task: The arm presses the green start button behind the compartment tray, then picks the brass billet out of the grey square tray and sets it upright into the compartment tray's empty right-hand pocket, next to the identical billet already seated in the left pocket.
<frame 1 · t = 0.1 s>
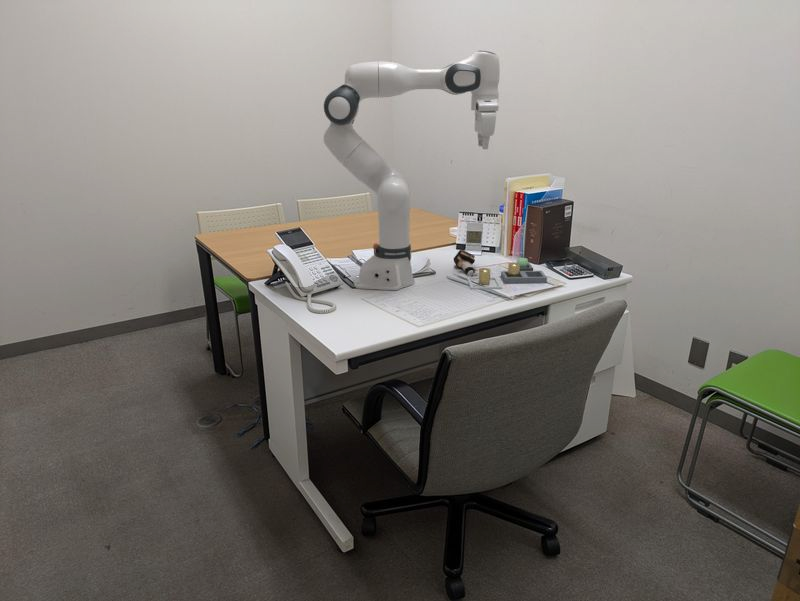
hand: (483, 147, 186), 48 cm above the table, fingers open, 8 cm apart
start button: (521, 264, 207), point 5 cm above the table, slide at 0.0 cm
button housing: (521, 275, 208), on the table
figurine: (465, 274, 212), on the table
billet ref: (513, 279, 200), point 1 cm above the table, touching compartment tray
grey square tray: (484, 286, 197), on the table
billet: (484, 285, 197), resting on grey square tray
compartment tray: (523, 282, 201), on the table
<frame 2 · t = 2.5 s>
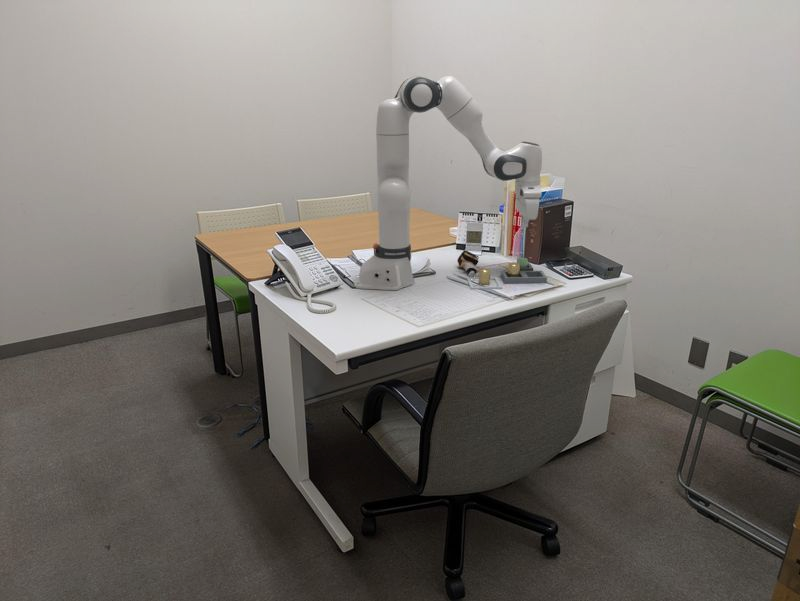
hand: (524, 226, 201), 19 cm above the table, fingers closed
figurine: (468, 274, 211), on the table
everything else where it was.
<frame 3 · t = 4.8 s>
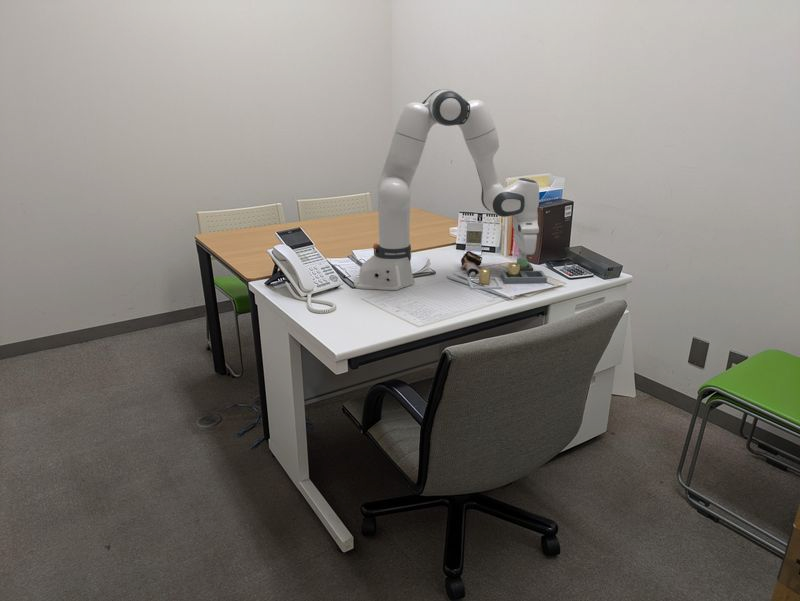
hand: (522, 259, 206), 6 cm above the table, fingers closed, pressing on start button
start button: (521, 264, 207), point 4 cm above the table, slide at 0.1 cm, touching gripper
figurine: (470, 275, 210), on the table
everything else where it was.
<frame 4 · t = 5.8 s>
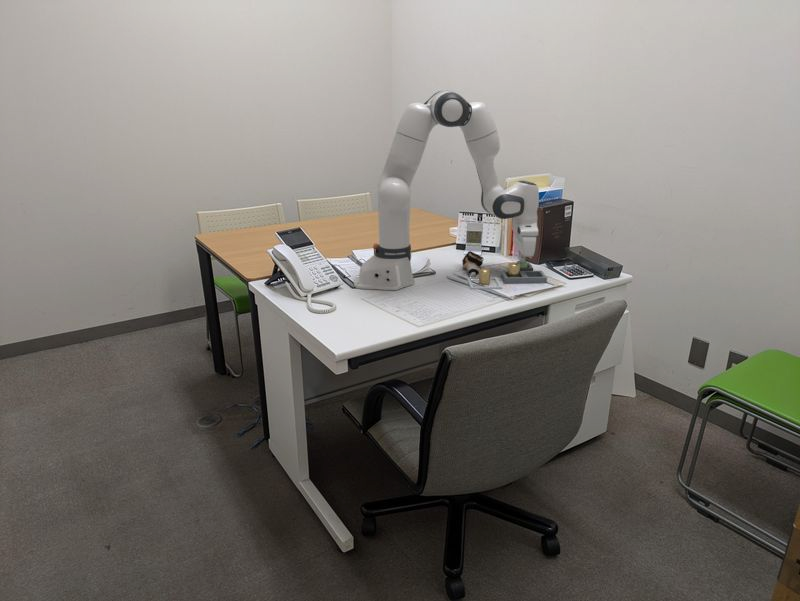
hand: (521, 261, 206), 6 cm above the table, fingers closed
start button: (521, 267, 207), point 3 cm above the table, slide at 1.2 cm
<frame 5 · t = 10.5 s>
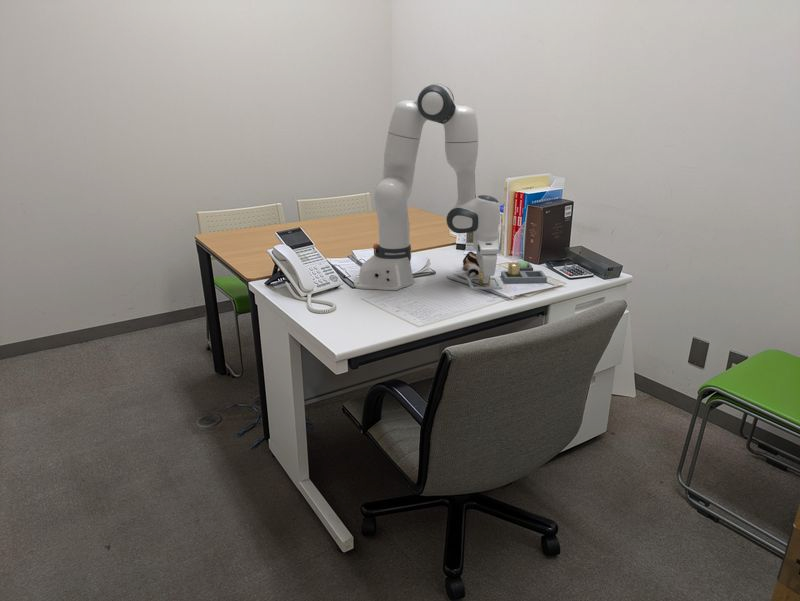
hand: (484, 280, 196), 3 cm above the table, fingers closed on billet, 4 cm apart
billet: (484, 285, 197), resting on grey square tray, touching gripper
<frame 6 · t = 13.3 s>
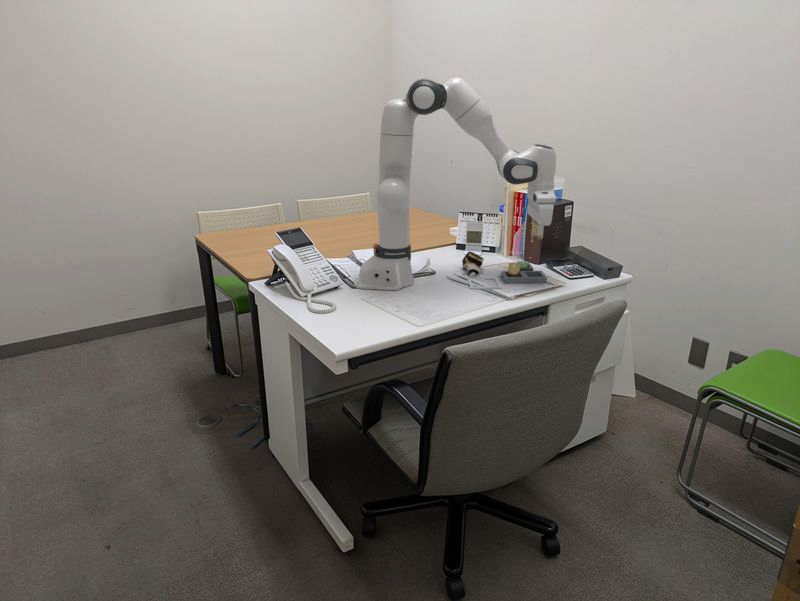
hand: (537, 232, 194), 19 cm above the table, fingers closed on billet, 4 cm apart
billet: (537, 238, 195), point 17 cm above the table, touching gripper
everything else where it was.
when the fingers open (5 cm above the table, at t = 16.1 s): billet drops 1 cm, resting on compartment tray.
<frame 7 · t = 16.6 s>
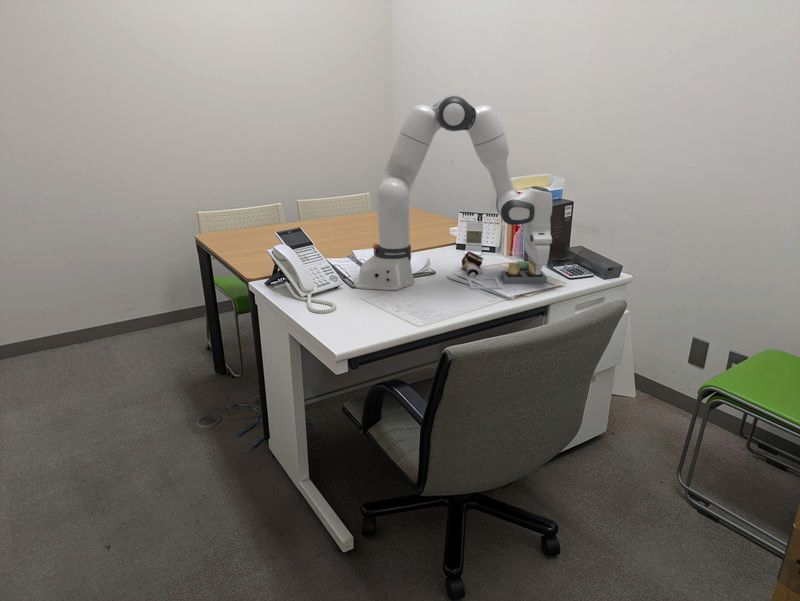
hand: (534, 270, 199), 5 cm above the table, fingers open, 8 cm apart
billet: (533, 279, 200), point 1 cm above the table, touching compartment tray
everything else where it was.
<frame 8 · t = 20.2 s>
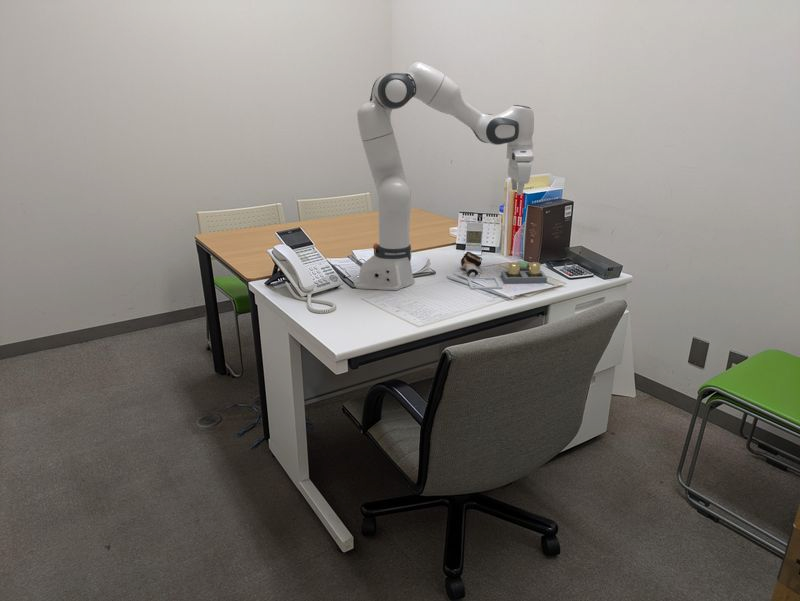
hand: (516, 192, 200), 31 cm above the table, fingers open, 8 cm apart
nothing on the table moved.
at the end: billet 0.1 cm from the target spot on the compartment tray, point 1.2 cm above the compartment tray's base; billet tilted 0°; start button slide at 1.2 cm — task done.
